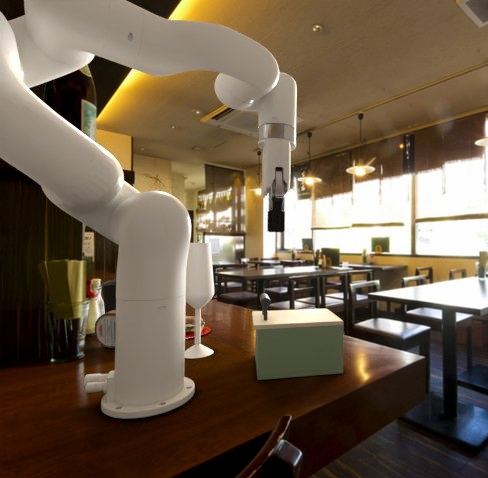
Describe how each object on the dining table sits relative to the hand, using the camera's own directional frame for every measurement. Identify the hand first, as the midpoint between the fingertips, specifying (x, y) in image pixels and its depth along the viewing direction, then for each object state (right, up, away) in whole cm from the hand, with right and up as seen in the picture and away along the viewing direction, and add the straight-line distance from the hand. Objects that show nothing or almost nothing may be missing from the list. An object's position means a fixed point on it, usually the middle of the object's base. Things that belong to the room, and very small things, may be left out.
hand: (275, 231), depth 65 cm
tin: (-35, -26, +10) cm, 45 cm away
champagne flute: (-18, -27, +7) cm, 33 cm away
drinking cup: (-44, -27, +20) cm, 55 cm away
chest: (+4, -26, 0) cm, 27 cm away
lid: (+4, -18, +1) cm, 18 cm away
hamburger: (-28, -27, +23) cm, 45 cm away
